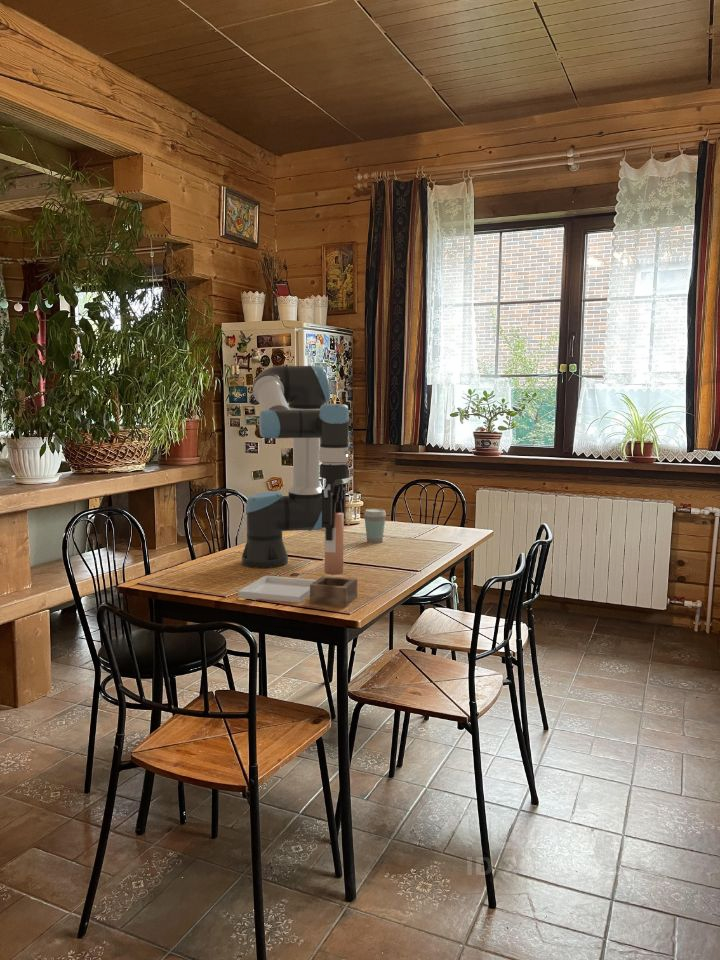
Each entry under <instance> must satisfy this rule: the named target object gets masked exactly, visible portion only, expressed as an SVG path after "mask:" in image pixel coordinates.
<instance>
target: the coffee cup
mask: <svg viewBox="0 0 720 960" xmlns="http://www.w3.org/2000/svg"><path fill="white" fill-rule="evenodd" d="M386 516H387V513H386V510H385V509H382V508H368V509H367V508H366V509H365V510H364V513H363V517H364V524H365V532H366V533H365V535H366V542H367V543H369V544H370V543H371V544H379V543H380V544H382V543H383V540H384V539H383V538H384V530H385V522H386Z"/></svg>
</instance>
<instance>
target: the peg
mask: <svg viewBox="0 0 720 960" xmlns="http://www.w3.org/2000/svg"><path fill="white" fill-rule="evenodd" d="M344 525H345V523H344V513H341V512H335V524H334V528H336V552H335V553H333V552H325V551H324V574H326V575H332V576H334V575H335V576H337V575H338V576H339V575H341V574H343V573H344V532H345V531H344Z"/></svg>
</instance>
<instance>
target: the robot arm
mask: <svg viewBox="0 0 720 960" xmlns="http://www.w3.org/2000/svg"><path fill="white" fill-rule="evenodd" d="M251 389H252V394H253V397H254V399H255V400H256V402H257V403H259V405H260V408H261V411H260V412H259V415H258V417H259V418H258V423H259V424H258V429H259V435H260V436H261V438H264V439H273V440H274V439H293V446H292V447H293V448H292V450H293V451H292V453H293V455H292V456H293V457H292V458H293V459H292V462H293V463H292V464H293V465H292V467H293V469H292V471H293V473H292V475H293V476H292V478H293V479H292V486H291V487H290V488H289V489H288V495H283V493H282V492H281V491H278V490H276V491H266V492H260V493H255V494H252V495H250V496H249V497H247V499H246V509H245V512H246V543H245V545H244V549H243V553H242V555H241V564H242V566H245V567H249V568H257V569H269V568H277V567H283V566H285V565H287V564H288V561H289V560H288V558H289V556H288V552H287V549H286V547H285V544H284V541H283V540H284V539H283V532H293V531H295V532H296V531H315V530H316V531H317V530H322V529H324V553H325V552H333V553H335V552H336V528H334V524H335V512H341V513H344V524H346V523H347V520H346V492H347V491H346V489H347V483H343V480H345V479H347V478H348V477H349V464H348V462H349V455H350V454H351V452H350V450H349V429H350V428H349V423H350V421H349V420H350V416H349V415H350V414H349V406H348V405H347V404H343V403H330V401H331V387H330V381H329V376H328V374H327V371H326V369H325V368H324V367H322V366H316V365H276V366H271V367H267V368H266V369H265V370H263V371H261V372H260V373H259V374H258V375H257V376H256V377H255V379H254V381H253V383H252V388H251ZM320 462H321V463H320ZM320 478H321V479H325V485H324V489H323V488H322V487H321V486H320Z"/></svg>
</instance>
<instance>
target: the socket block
mask: <svg viewBox="0 0 720 960" xmlns="http://www.w3.org/2000/svg"><path fill="white" fill-rule="evenodd" d="M315 580H316V581H315V582H314V583H312V584H311V585H310V595H309V604H310V605H319V606H320V605H321V606H331V607H341V608H347V607H348V606H349V605H350V604H351V603H352V602H353V601H354V600H356V599H357V598H358V578H350V577H341V576H329V575H327V576H326V575H322V576H321V577H319V578H318V579H315Z"/></svg>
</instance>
